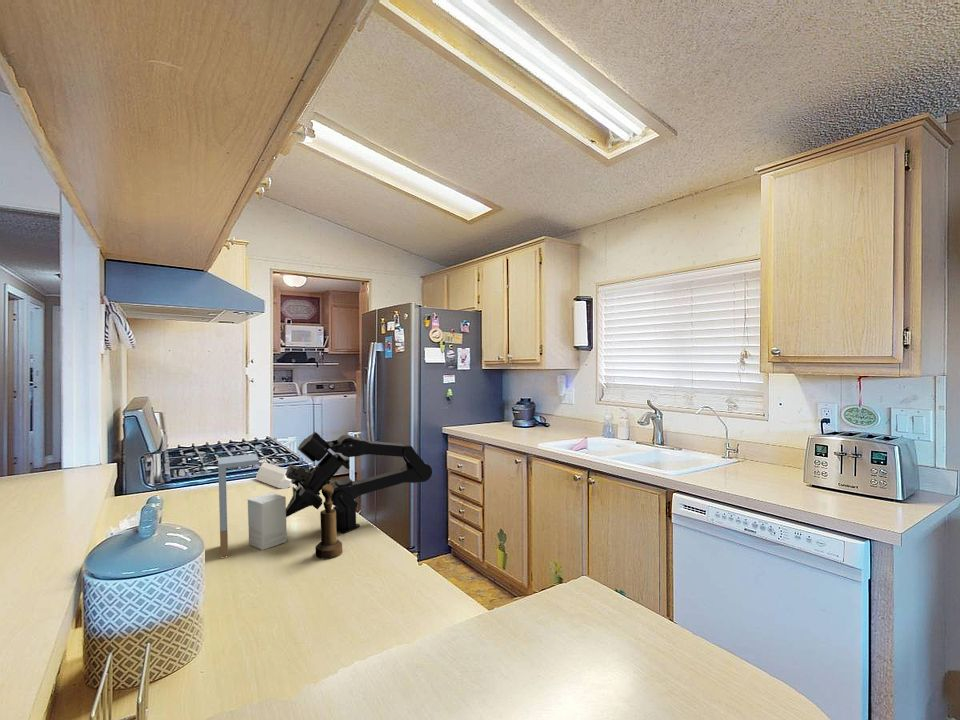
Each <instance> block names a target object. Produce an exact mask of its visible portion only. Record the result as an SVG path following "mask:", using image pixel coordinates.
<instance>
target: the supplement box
mask: <svg viewBox="0 0 960 720" xmlns="http://www.w3.org/2000/svg"><path fill="white" fill-rule="evenodd" d="M286 499H287V498H286V496H285V495H281V494H277V493H274V492H270V493H266V494H262V495H258V496H255V497H252V498H248V499H247V518H248V521H247V523H248V545H250V546H253V547H255V548H257V549H259V550H261V551H265V550H266V549H269V548H273V547H276V546H279V545H281V544H284V543H286V542H287V541H288V535H287V534H288V533H287V531H288V529H287V517H286V508H287V506H286V505H287V504H286V503H287V502H286V501H287V500H286Z"/></svg>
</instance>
